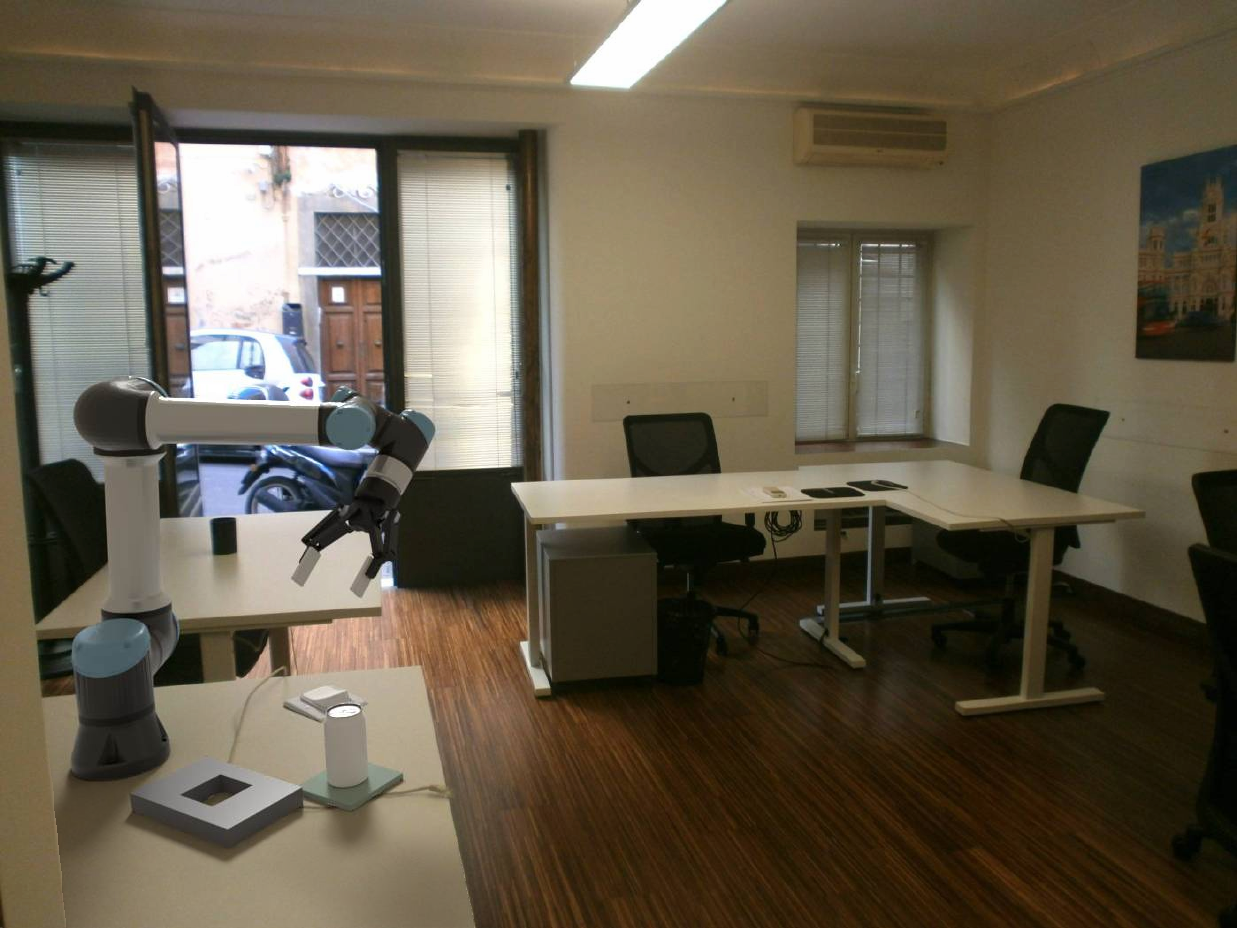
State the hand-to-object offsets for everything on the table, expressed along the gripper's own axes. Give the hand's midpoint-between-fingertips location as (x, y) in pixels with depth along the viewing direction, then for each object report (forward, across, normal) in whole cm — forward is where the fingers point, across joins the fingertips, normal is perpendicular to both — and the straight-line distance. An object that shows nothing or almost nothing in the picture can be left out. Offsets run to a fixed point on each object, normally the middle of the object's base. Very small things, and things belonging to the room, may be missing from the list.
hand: (325, 588), depth 164 cm
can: (+26, -11, -15) cm, 32 cm away
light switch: (+12, +16, -32) cm, 37 cm away
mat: (+26, -11, -16) cm, 33 cm away
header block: (+37, +2, -5) cm, 37 cm away
